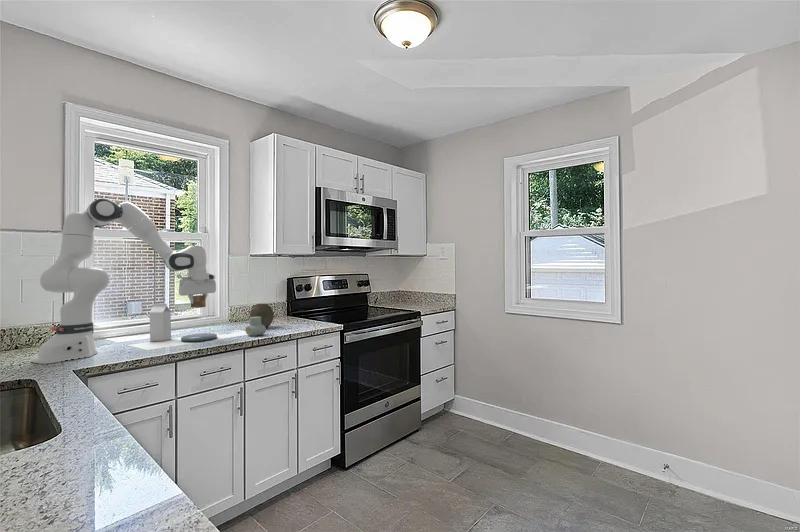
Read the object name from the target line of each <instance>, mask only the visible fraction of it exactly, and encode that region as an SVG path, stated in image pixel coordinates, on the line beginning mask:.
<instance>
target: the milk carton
mask: <svg viewBox="0 0 800 532" xmlns="http://www.w3.org/2000/svg"><path fill="white" fill-rule="evenodd" d="M148 313H149V341H150V342H164V341H167V340H170V339H172V324H171V323H172V320H171V319H172V318H171V317H172V316H171V315H172V314H171V310H170V308H169V307H168V303H154V304H153V305H152V307H151V309H150V311H149V312H148Z"/></svg>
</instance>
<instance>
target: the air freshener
mask: <svg viewBox="0 0 800 532" xmlns="http://www.w3.org/2000/svg"><path fill="white" fill-rule="evenodd" d="M266 331H267V328H266V327H265V326H264V325H262V324H261V317H250V316H249V325H247V326H246V327H245V334H247V335H248V336H250V337H258V336H257V335H260V336H262V335H264V334H265V333H266Z"/></svg>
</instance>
